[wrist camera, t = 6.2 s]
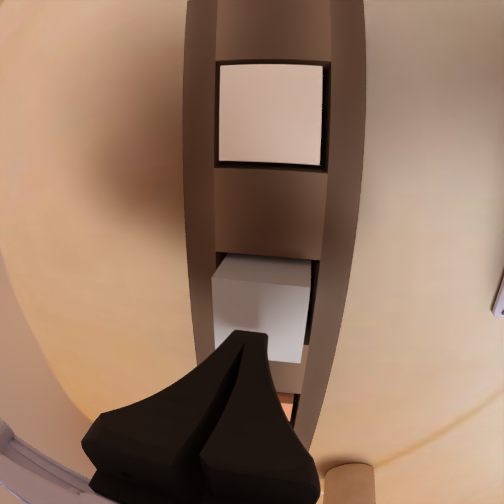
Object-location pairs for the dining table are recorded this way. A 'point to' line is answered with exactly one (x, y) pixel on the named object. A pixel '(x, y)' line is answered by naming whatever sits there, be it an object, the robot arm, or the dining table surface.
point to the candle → (350, 485)
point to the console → (276, 172)
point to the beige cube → (270, 113)
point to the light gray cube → (263, 301)
